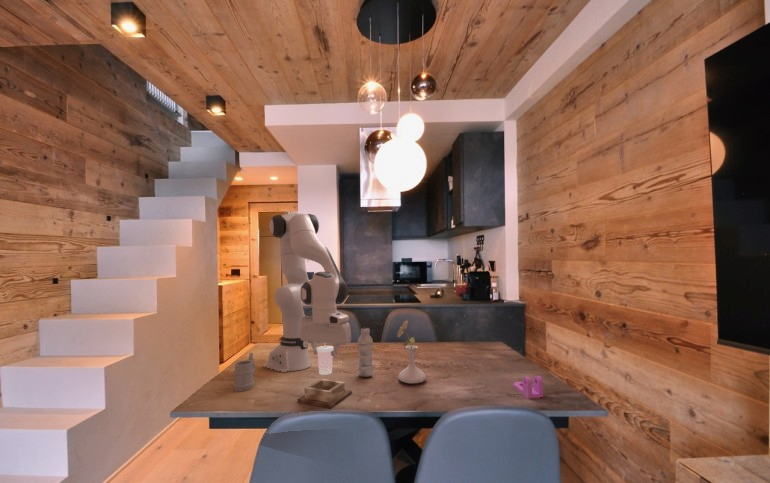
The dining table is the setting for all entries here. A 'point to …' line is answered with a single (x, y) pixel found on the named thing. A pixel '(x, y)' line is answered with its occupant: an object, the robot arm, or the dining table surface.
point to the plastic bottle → (365, 353)
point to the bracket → (530, 387)
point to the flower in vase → (410, 361)
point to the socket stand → (325, 393)
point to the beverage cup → (325, 359)
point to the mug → (244, 374)
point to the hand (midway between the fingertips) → (325, 354)
